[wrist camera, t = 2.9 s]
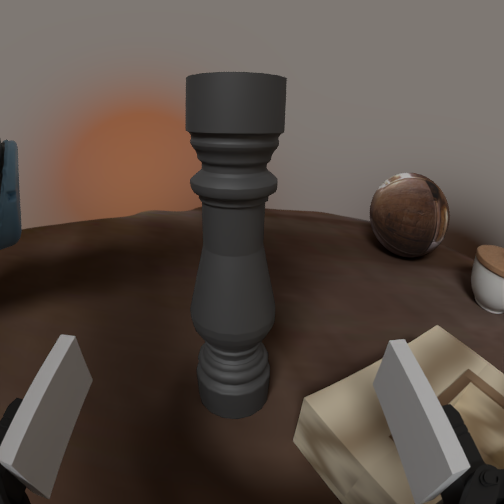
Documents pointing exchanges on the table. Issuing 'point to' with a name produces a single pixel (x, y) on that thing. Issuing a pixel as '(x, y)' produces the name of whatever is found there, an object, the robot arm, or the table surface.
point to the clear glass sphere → (409, 215)
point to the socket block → (376, 427)
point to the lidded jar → (489, 278)
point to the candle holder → (234, 233)
